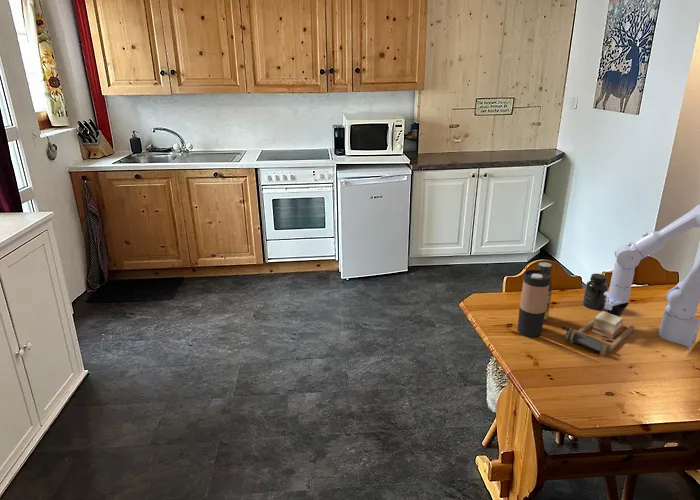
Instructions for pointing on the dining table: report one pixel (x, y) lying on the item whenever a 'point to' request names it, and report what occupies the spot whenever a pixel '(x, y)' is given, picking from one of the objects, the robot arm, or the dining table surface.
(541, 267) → the sauce bottle
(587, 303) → the supplement bottle
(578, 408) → the dining table surface
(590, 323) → the bay
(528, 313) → the travel mug
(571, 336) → the winch
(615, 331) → the red striped cream box
